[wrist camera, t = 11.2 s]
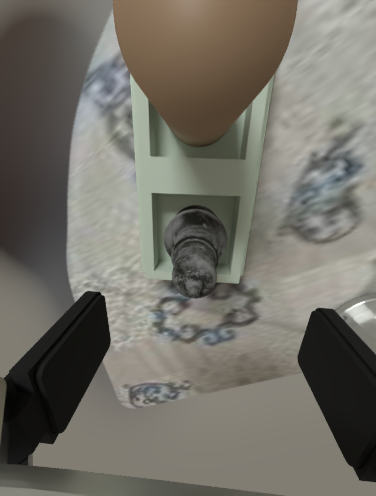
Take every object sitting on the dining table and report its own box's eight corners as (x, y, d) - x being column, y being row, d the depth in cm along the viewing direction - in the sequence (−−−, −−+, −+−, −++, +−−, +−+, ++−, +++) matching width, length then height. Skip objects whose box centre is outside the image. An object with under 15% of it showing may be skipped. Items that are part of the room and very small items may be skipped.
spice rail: (241, 272, 25) (282, 372, 13) (144, 267, 25) (95, 360, 13) (277, 34, 16) (494, -326, 4) (130, 31, 17) (-39, -309, 5)
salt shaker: (190, 263, 23) (183, 351, 12) (157, 223, 22) (116, 284, 11) (233, 235, 22) (270, 306, 11) (202, 190, 20) (207, 220, 9)
